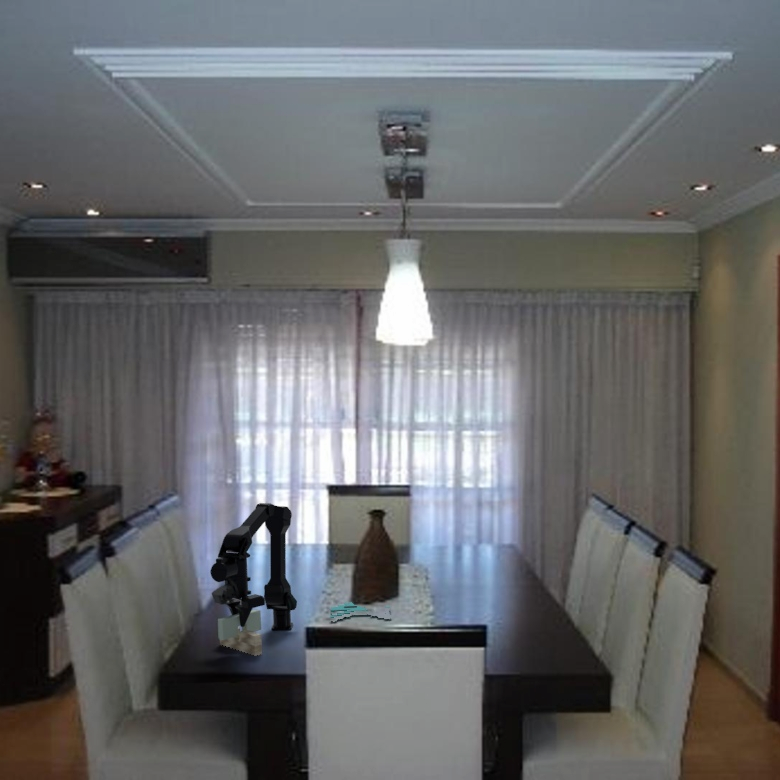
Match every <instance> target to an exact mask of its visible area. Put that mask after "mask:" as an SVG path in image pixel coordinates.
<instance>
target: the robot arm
mask: <svg viewBox="0 0 780 780" xmlns="http://www.w3.org/2000/svg"><path fill="white" fill-rule="evenodd" d="M292 516H293V515H292V511H291V509H290V508H289V507H288V506H283V505H282V506H281V505H275V504H272V503H270V502H268V503H267V502H260V503H256V506H255V508H254V509H253V511H252V512H251V513H250V514H249V515H248V517H247V518H245V520H244V521H243V522H242V524H241V525H240V526H238V527H236V528H233V529H231V530H230V531H229V532H227V533H226V534H225V536H224V537H223V540H222V543H221V545H220V548H219V552H218V555H217V558H216V559H215V563H213V564H212V565H211V568H210V577H211V578H212V580H214V581H215V582H217V583H222V582H224V584H223V585H221V586H219V587H218V588H216V589H215V590H213V591H212V592H211V595H212V598H213V601H214V604H219V605H221V606H222V605H224V606H226V607H227V608H228V609H229V612H230V614H231V615H235V614H239V618H240V625H241V626H240V627H241V628H242V627H244V626H245V624H246V621H247V619H248V617H249V614H250V612H251V610H253V609H254V608H260V607H262V606H265V607H266V610H272V618H273V619H272V620H273V624H272V626H271V628H270V629H272V631H279V630H280V631H281V630H283V631H284V630H286V631H287V630H292V628H293V626H294V622H292V617H291V615H292V612H291V611H294V610H296V608H297V604H298V601H297V598H295V597H294V594H292V589H291V587H292V586H291V585H290V582H289V580H288V579H287V577H286V575H287V574H286V573H287V572H286V568H287V567H286V565H287V564H286V563H287V562H286V561H287V560H286V559H287V558H286V554H287V553H286V547H287V546H286V543H287V542H286V538H287V537H286V536H287V535H286V533H287V532H288V530H289V528H290V527H291V522H292ZM264 523H265V527H266V529H267V531H268V533H269V535H270V536H269V537H270V538H269V539H270V541H269V542H270V544H269V545H270V547H269V549H270V550H269V551H270V552H269V553H270V554H269V556H270V559H269V560H270V561H269V562H270V564H269V566H270V568H269V569H270V570H269V572H270V577H269V581H267V583H266V584H265V585H264V587H263V589H264V591H263V592H264V595H260V594H258V593H256V594H255V593H254V594H252V590H249V582H250V581H252V580H251V577H250V576H249V575H248V558H250V557H251V554H250V553H249V552H248V551H249V550H250V547H251V546H252V544H253V537H254V536H255V534H256V533H257V532H258V530H260V528H261V527H262V526H263V525H264Z"/></svg>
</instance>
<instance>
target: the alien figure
mask: <svg viewBox="0 0 780 780" xmlns="http://www.w3.org/2000/svg"><path fill="white" fill-rule="evenodd" d="M385 608H390V609H391V607H390V605H389V607H385ZM365 609H366V608H365V607H364V608H363V607H360V606H357V605H354V604H353V603H352V602H351V601H350V602H344V603H343V604H338V605H337V606H331V607H330V613H331V612H334V611H344V613H337V615H331V614H330V615H329V619H330V618H334V617H337V616H342V615H344V614H350V612H354V611H365ZM347 610H351V611H347ZM366 611H368V610H367V609H366ZM370 611H371V610H370ZM385 614H386V613H385ZM390 615H391V613H390Z"/></svg>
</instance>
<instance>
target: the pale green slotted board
mask: <svg viewBox="0 0 780 780" xmlns="http://www.w3.org/2000/svg"><path fill="white" fill-rule="evenodd" d="M261 612H262V611H261V609H254V608H253V609H252V610H251V612H250V614H249V617H248V619H247V621H246V624H245V626H244V627H241V625H240V618H239V614H235V615H232V614H231V615H227V616H223V617H220V618H218V619H217V632H218V634H217V635H218V637H217V638H218V640H220V639H221V640H226V639H230V638H233V637H237V636H238V628H239V627H241V631H244V630H249V631H252V632H255V633H256V632H257V631H262V617H261V615H262V614H261Z"/></svg>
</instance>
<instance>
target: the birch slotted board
mask: <svg viewBox="0 0 780 780" xmlns="http://www.w3.org/2000/svg"><path fill="white" fill-rule="evenodd" d="M262 643H263V642H262V633H258V632H256V631H255V632H252V631H249V630H244V631H242V630H241V628H240V627H238V636H237V637H233V638H230V639H226V640H221V639H219V645H220V646H222V645H223V646H222V647H225V646H226V647H225V648H228V647H230V648H229V649H232V648H233V649H232V650H235V649H236V651H238V650H239V651H238V652H241V651H242V652H241V653H244V652H245V653H244V654H247V653H248V654H247V655H250V654H251V655H250V656H253V655H254V657H258V656H261V655H263V648H262V647H263V645H262ZM260 654H261V655H260ZM257 655H258V656H257Z"/></svg>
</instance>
